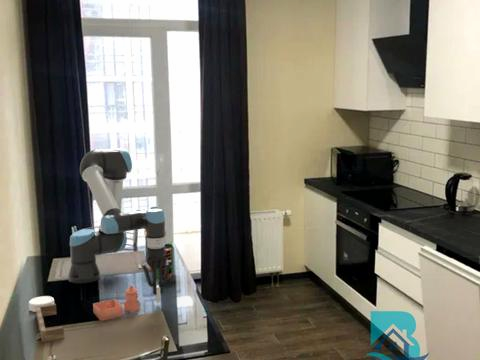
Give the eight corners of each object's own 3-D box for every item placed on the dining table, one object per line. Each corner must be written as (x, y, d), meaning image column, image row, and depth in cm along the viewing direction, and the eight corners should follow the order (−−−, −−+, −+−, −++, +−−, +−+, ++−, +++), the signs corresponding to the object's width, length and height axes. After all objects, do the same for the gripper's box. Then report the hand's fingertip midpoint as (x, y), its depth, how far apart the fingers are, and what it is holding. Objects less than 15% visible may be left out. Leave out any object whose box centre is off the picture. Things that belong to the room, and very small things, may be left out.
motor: (168, 280, 249) (166, 240, 246) (150, 279, 251) (149, 239, 248) (175, 274, 259) (173, 234, 256) (158, 273, 260) (156, 234, 258)
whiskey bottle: (144, 266, 271) (142, 206, 267) (163, 264, 275) (161, 204, 271) (149, 272, 262) (147, 209, 257) (168, 269, 266) (166, 208, 261)
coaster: (57, 303, 222) (57, 295, 222) (50, 312, 212) (49, 304, 212) (34, 303, 222) (33, 295, 221) (25, 312, 212) (24, 304, 212)
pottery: (100, 321, 203) (99, 297, 202) (93, 313, 211) (92, 290, 209) (144, 311, 212) (143, 288, 211) (135, 304, 220) (134, 281, 219)
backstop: (36, 316, 208) (35, 306, 207) (56, 312, 211) (55, 303, 211) (42, 342, 185) (41, 331, 184) (64, 338, 188) (63, 327, 187)
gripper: (143, 250, 208) (145, 307, 212) (174, 246, 214) (175, 301, 217) (138, 246, 215) (140, 300, 218) (168, 242, 220) (170, 295, 224)
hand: (158, 301), depth 218 cm, fingers closed
